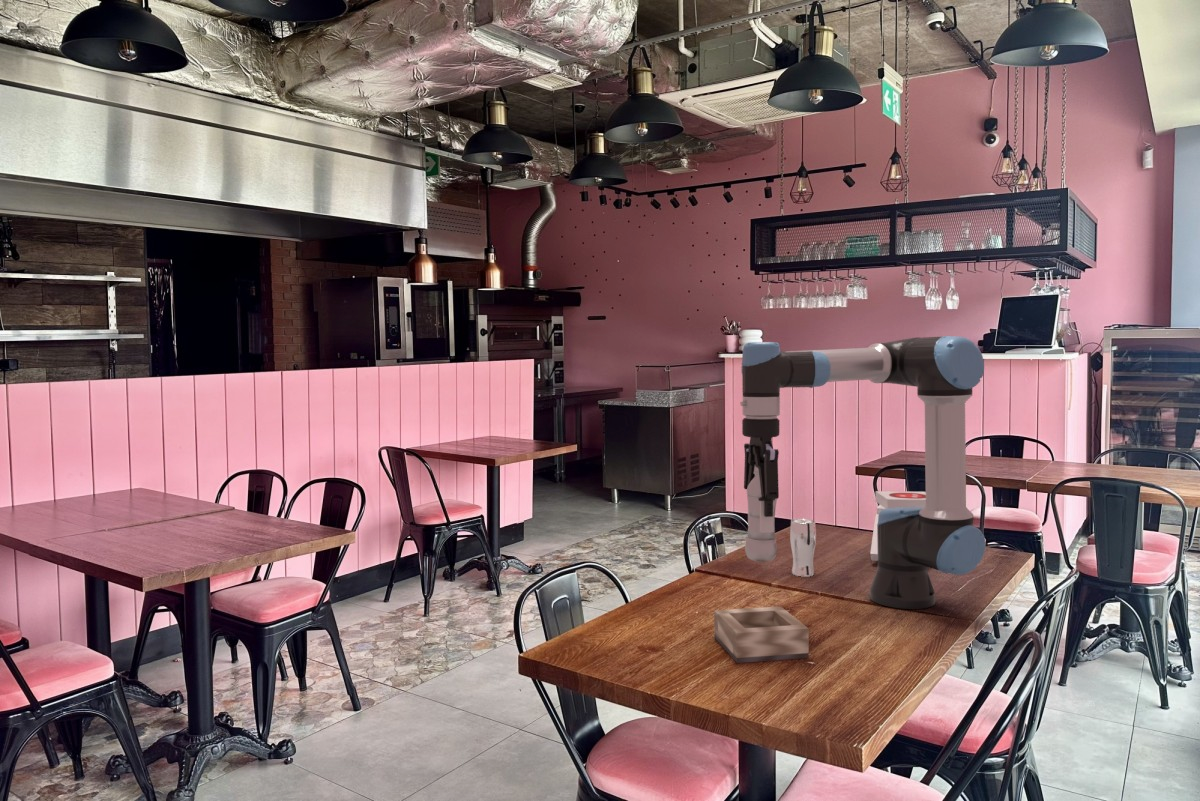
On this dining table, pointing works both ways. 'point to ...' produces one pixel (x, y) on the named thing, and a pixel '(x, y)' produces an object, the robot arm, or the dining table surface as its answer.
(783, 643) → the bottle holder
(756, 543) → the plastic bottle
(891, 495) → the pizza boxes
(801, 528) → the beer glass
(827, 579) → the dining table surface
